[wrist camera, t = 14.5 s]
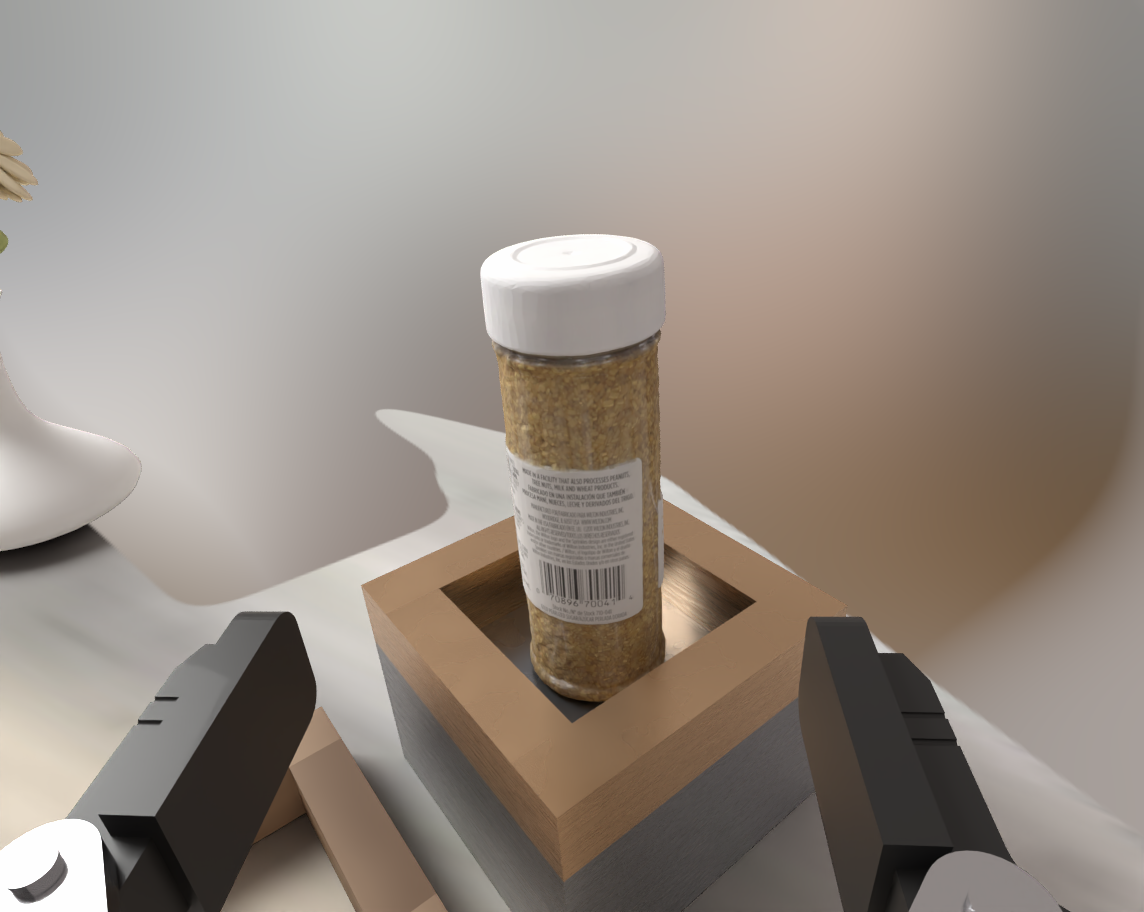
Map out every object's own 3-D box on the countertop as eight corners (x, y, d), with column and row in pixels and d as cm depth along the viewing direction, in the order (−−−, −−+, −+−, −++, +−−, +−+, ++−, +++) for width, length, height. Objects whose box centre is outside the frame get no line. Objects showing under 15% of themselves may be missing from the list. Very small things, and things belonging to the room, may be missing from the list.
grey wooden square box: (577, 1005, 21) (556, 817, 17) (404, 756, 29) (361, 585, 25) (818, 787, 27) (847, 605, 22) (618, 627, 34) (613, 469, 30)
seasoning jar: (684, 630, 26) (690, 232, 19) (634, 728, 22) (620, 283, 15) (566, 597, 27) (534, 225, 21) (502, 683, 24) (440, 269, 17)
